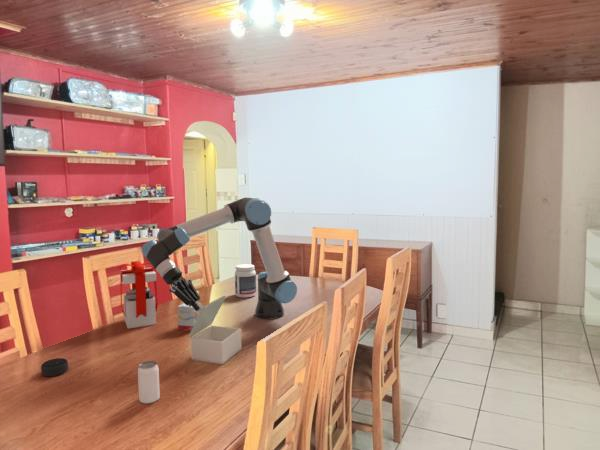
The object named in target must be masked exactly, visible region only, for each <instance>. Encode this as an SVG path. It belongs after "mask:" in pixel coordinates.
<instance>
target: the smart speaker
mask: <svg viewBox="0 0 600 450" xmlns="http://www.w3.org/2000/svg"><path fill="white" fill-rule="evenodd" d="M40 370H41V371H40V372H41V375H43V376H44V377H56V376H60V375H63V374H64V373H66V372H67V371H68V370H69V361H68V360H67V359H66V358H61V357H59V358H58V357H57V358H56V357H55V358H52V359H48V360H46V361H44V362H42V364H41V366H40Z"/></svg>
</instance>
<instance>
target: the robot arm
mask: <svg viewBox="0 0 600 450" xmlns="http://www.w3.org/2000/svg"><path fill="white" fill-rule="evenodd" d="M271 216H272V208H271V207H270V204H269V203H268V201H265V200H264V199H261V198H258V197H256V198H255V197H254V198H253V197H243V198H239V199H237V200H234V201H232V202H229V203H228V204H227V203H226V204H224V206H223V207H222V208H220V209H217V210H214V211H211V212H209V213H206V214H203V215H201V216H198V217H195V218H192V219H190V220H187V221H184V222H182V223H179V224H176V225H174V226H170V227H167V228H166V227H165V228H161V229H159V231H158V232H157V234H156V239H157V240H155V239H151V240H149V241H147V242H145V243H144V245H142V247H141V250H140V251H141V254H143V256H144V257H145V259H146V260H147V262H150V265H151V266H152V268H153V267H154V268H155V269H154V271H155V272H157V273H158V274H159V276H160V277H161V278H162V280H163V281H164V282H165V283H166V284H167V285H169V286H170V287H171V288H169V290H168V291H169V292H170V293H172V294H173V295H175V296H176V297H177V298H178V299H179V300H180V301H181V302H182V304H183V303H185V304H186V305H187V306H188V305H189V307H191V306H192V307H193V308H194V309H195V310H196V311H197V312H198V314H200V312H201V310H202V308H203V306H204V305H203V304H202V303H201V302H200V300H201V296H200V294H199V293H198V290H196V287H194V284H193V282H192V280H191V279H189V280H187V279H186V278H185V277H183V272H182V271H181V269H180V268H179V267H178V266H177V264H176V263H175V262H174V261H173V260H172V259H171V257H170V256H171V255H173V254H174V253H176V252H177V251H178V250H180V249H181V248H183V246H186V245H187V244H188V243H189V242H190V240H191V238H192V237H195V236H198V235H200V234H203V233H205V232H208V231H211V230H213V229H216V228H218V227H221V226H223V225H226V224H229V223H230V224H235V223H238V222H244V223H245V225H246V228H247V230H248V232H251V233H252V235H253V238H254V241H255V243H256V246H257V249H258V252H259V256H260V258H261V261H262V264H263V266H264V269H265V271H261V272H259V273H258V275H257V297H258V298H257V304H256V305H255V306H256V307H255V310H254V315H255V317H256V318H258V319H262V320H263V319H264V320H270V319H271V320H274V319H279V318H281V317H283V316H284V314H285V313H284V312H285V311H284V310H285V309H284V306H283V304H289V303H291V302H292V301H293V300H294V299H295V297H296V296H297V293H298V286H297V284H296V283H295V281H293V280H291V276H290V273H289V271H288V270H285V268H284V265H283V263H282V260H281V256H280V254H279V251H278V247H277V244H276V242H275V239H274V236H273V233H272V230H271V227H270V225H271V224H272V220H271Z"/></svg>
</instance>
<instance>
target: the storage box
mask: <svg viewBox="0 0 600 450" xmlns="http://www.w3.org/2000/svg"><path fill="white" fill-rule="evenodd" d="M190 343H191V344H190V345H191V346H190V351H191V360H192V361H197V362H203V363H208V364H209V363H210V364H216V365H225V364H226V363H227V362H229V360H231V359H232V358H233V357H234V356H235V355H237V354H238V353H239V352H240V351H241V349H242V329H241V328H238V327H237V328H235V327H229V326H222V325H221V326H220V325H214V324H211V325H210V326H208V327H207V328H205V329H203V330H202V331H200V332H198V333H197V334H195V335H193V336H192V337H190ZM231 357H232V358H231ZM225 362H226V363H225Z"/></svg>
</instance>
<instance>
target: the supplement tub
mask: <svg viewBox="0 0 600 450" xmlns="http://www.w3.org/2000/svg"><path fill="white" fill-rule="evenodd" d="M234 292H235V293H234V294H235V296H236V297H238V298H247V299H248V298H251V297H255V296H256V294H257V271H256V270H255V265H254V264H249V263H242V264H241V263H240V264H237V265H235V271H234Z"/></svg>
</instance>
